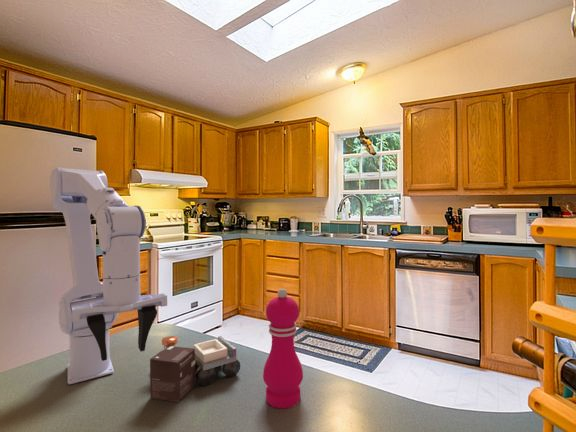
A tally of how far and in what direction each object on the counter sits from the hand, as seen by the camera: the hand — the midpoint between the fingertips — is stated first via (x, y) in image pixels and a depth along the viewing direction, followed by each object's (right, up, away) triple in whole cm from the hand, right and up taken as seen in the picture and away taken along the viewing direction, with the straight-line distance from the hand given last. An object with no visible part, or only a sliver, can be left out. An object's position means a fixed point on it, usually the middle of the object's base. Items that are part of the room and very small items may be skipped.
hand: (123, 353), depth 55 cm
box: (+7, -10, +5) cm, 13 cm away
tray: (+12, -5, +11) cm, 17 cm away
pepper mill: (+28, -9, +2) cm, 29 cm away
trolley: (+13, -9, +12) cm, 20 cm away
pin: (+3, -9, +13) cm, 16 cm away
